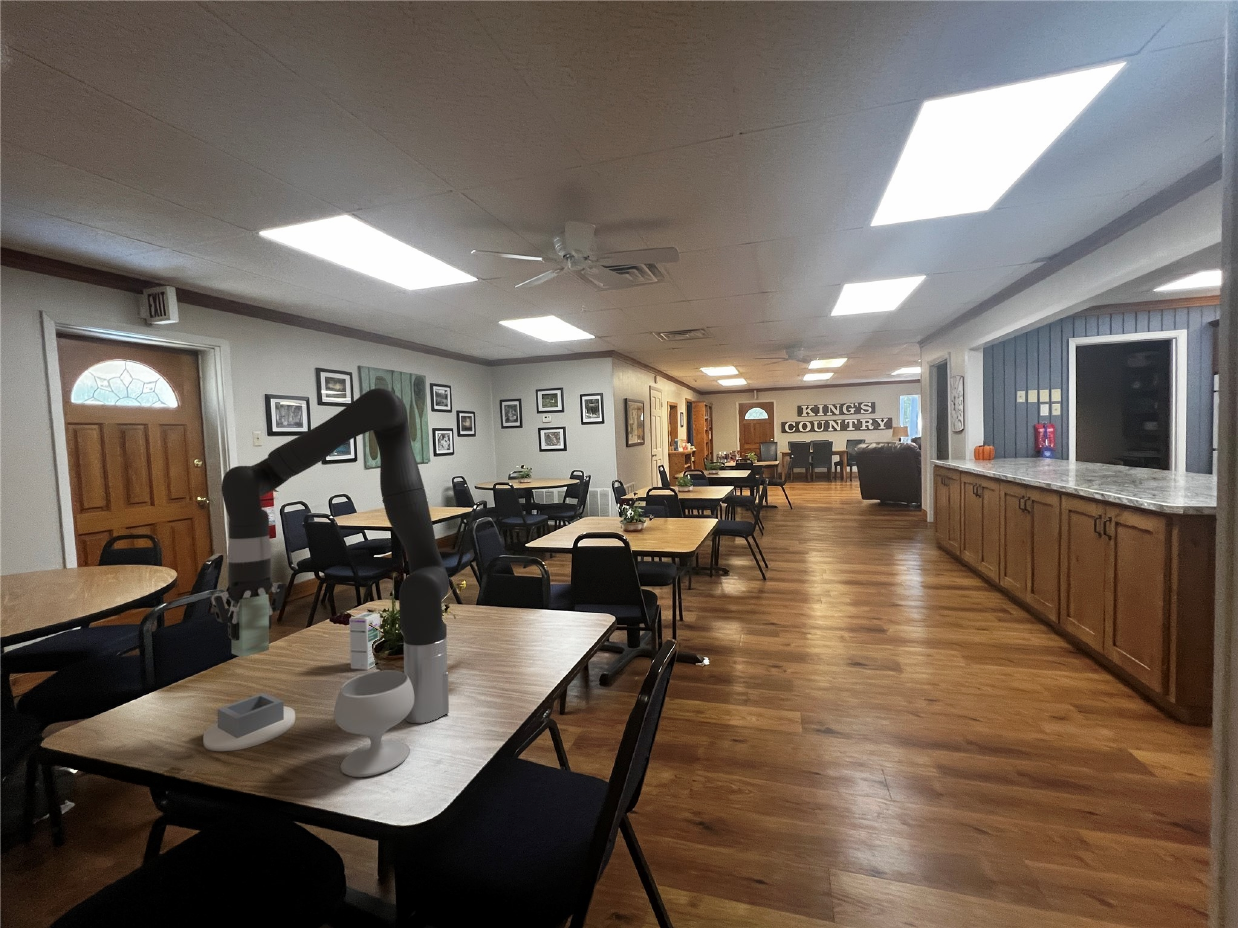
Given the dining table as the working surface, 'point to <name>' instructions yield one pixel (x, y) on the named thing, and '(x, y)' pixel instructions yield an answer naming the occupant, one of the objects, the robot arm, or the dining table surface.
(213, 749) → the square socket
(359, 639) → the syrup box
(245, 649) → the square peg
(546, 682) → the dining table surface
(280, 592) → the robot arm
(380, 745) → the chalice
